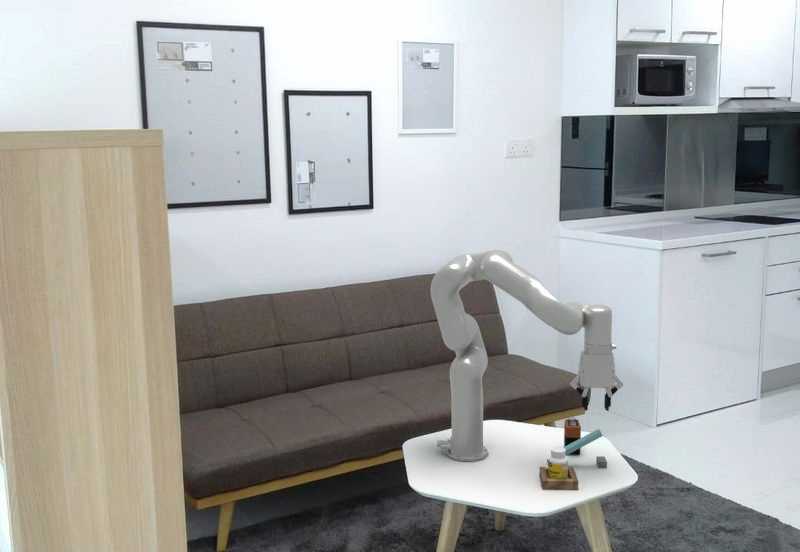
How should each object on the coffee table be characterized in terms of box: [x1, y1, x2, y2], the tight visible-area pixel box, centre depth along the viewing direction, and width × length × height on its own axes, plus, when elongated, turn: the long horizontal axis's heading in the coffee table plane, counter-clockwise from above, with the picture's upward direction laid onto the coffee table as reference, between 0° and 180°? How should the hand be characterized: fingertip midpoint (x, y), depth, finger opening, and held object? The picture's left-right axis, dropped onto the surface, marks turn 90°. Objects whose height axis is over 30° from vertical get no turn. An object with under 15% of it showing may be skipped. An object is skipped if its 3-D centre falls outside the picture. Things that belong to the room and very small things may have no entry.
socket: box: [538, 466, 579, 491], centre depth 237 cm, size 10×10×2 cm
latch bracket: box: [546, 455, 608, 469], centre depth 248 cm, size 17×6×4 cm, turn 87°
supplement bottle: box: [547, 446, 569, 479], centre depth 236 cm, size 5×5×10 cm
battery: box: [563, 416, 582, 456], centre depth 258 cm, size 4×7×10 cm, turn 174°
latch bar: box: [562, 428, 603, 457], centre depth 247 cm, size 15×3×2 cm, turn 86°
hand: (596, 408), depth 245 cm, fingers open, 5 cm apart
